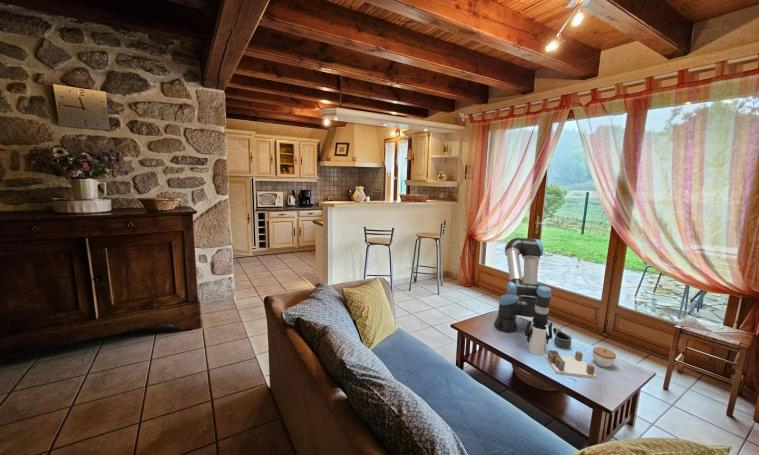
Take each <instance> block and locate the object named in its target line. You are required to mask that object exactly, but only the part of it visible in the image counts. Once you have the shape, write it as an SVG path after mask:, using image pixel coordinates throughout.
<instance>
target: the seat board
mask: <svg viewBox="0 0 759 455" xmlns="http://www.w3.org/2000/svg"><path fill="white" fill-rule="evenodd" d="M551 351H554V350H552V349H549V350H548V352H547V354H544V358H545V359H546V361H547V362H548V364H549V366H550V367H551V369H552V370H553V371H554V373H555V374H556V375H562V376H568V377H578V378H587V379H594V380H595V379H597V378H598V377H597V374H595V366H594V365H593V364H591V363H590V364H589V363H586V362H585V361H584V360H583V352H582V351H578V350H577V351H575V354H574V357H573V356H565V355H564V356H563V355H559V356H560V357H561V358H562V360H563V361H562V360H560V362H559V367H556V365H555V364H554V363H553V361H554V356H553V354H552V353H551Z"/></svg>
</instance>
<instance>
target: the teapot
mask: <svg viewBox="0 0 759 455" xmlns="http://www.w3.org/2000/svg"><path fill="white" fill-rule="evenodd" d="M552 334H553V335H554V343H555V345H556V346H557V347H559V348H562V349H568V348H570V347H571V346H572V340H573V337H572V336H571V335H569V334H567V333H565V332H563V331H562V330H561V329H560V328H559V327H557V326H555V327H552Z"/></svg>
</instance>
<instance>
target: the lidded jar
mask: <svg viewBox="0 0 759 455" xmlns="http://www.w3.org/2000/svg"><path fill="white" fill-rule="evenodd" d="M592 357H593V361H594V362H595V364H596V365H598V366H600V367H602V368H610V367H611V366H613V365H614V364H615V362H616V358H617V354H616V353H615V352H614V351H612V350H610V349H607V348H605V347H601V346H599V347H598V346H597V347H596V346H595V347H593V350H592Z"/></svg>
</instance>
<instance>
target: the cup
mask: <svg viewBox="0 0 759 455" xmlns="http://www.w3.org/2000/svg"><path fill="white" fill-rule="evenodd" d="M533 324H534V323H532V324H531V326H530V329H532V330H533V332H532V335H531V346H530V348H529V347H528V351H529V352H530V353H532V354H534V355H538V356H540V355H541V356H542V355H544V353H545V352H544V351H545V350H544V346H545V339H546V332H547V333H548V331H547V330H548V326H547V325H546V326H545V327H546V329H545V330H543V328H540V327H539V328H538V327H537V328H535V327H533Z"/></svg>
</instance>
